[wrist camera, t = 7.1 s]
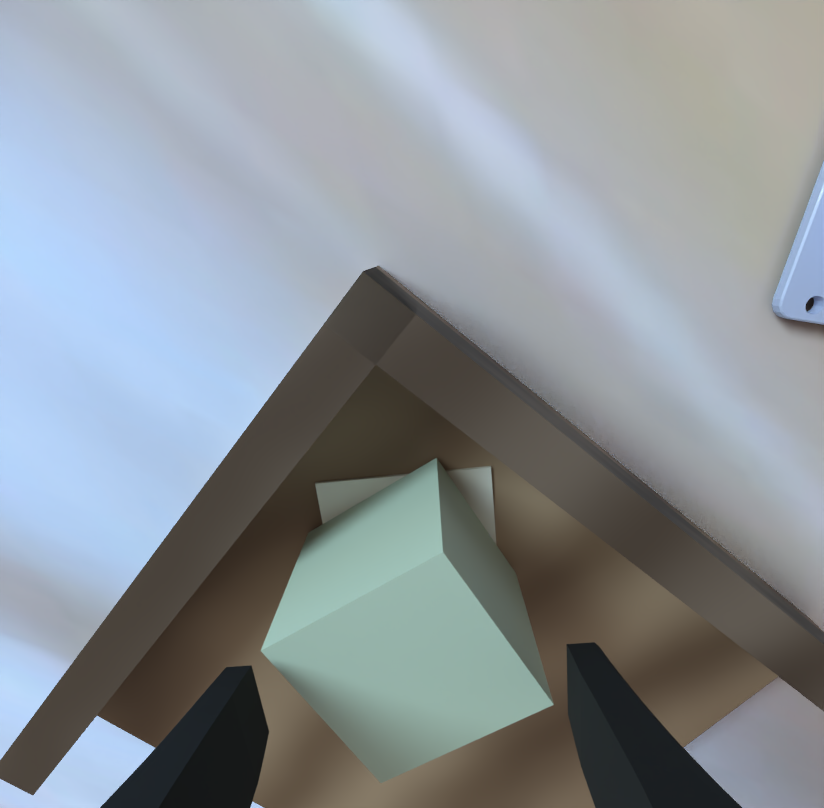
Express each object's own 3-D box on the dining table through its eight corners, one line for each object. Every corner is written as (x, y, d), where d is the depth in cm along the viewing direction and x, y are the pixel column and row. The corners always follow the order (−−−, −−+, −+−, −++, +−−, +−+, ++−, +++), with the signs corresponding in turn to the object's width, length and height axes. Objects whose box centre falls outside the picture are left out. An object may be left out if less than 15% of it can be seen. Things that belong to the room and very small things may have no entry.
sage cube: (515, 573, 16) (553, 704, 12) (392, 636, 17) (380, 783, 13) (436, 457, 15) (443, 551, 11) (308, 532, 16) (260, 650, 11)
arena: (808, 617, 18) (911, 715, 14) (457, 887, 23) (464, 1014, 19) (378, 265, 15) (363, 271, 11) (74, 671, 20) (-10, 773, 16)
